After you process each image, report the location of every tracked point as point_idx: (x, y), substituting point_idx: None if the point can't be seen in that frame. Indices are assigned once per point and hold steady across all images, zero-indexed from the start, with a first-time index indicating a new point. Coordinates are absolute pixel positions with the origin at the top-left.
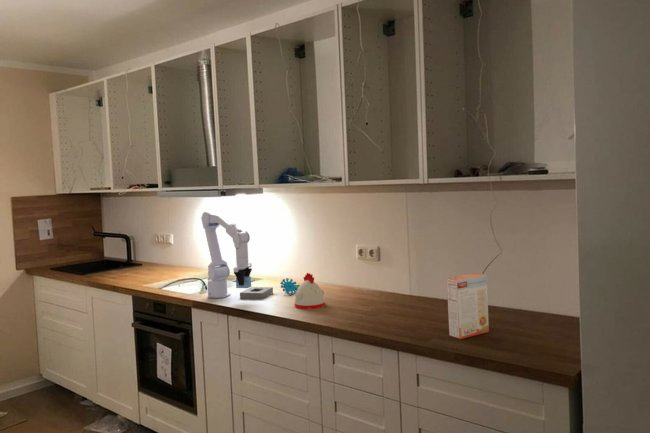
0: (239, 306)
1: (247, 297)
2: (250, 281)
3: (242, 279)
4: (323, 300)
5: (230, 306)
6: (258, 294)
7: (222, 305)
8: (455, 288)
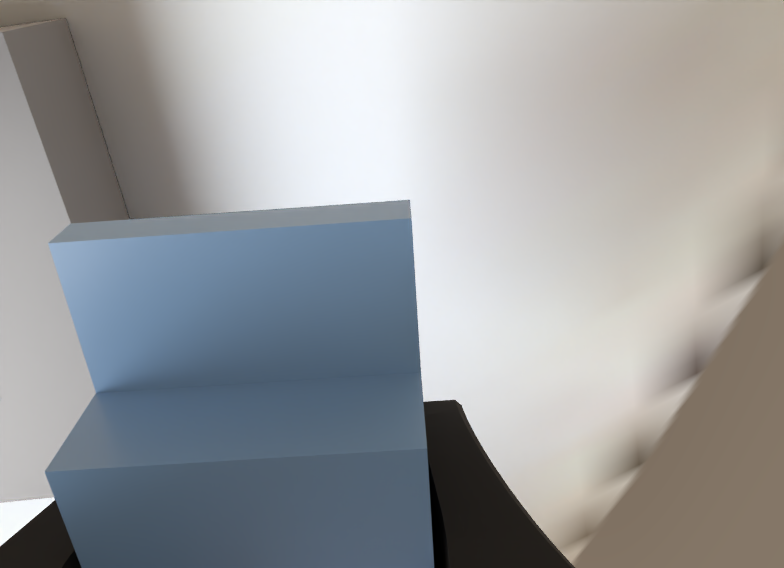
0: (703, 136)
1: None
2: (409, 221)
3: (529, 526)
4: None
5: (707, 284)
6: (50, 118)
7: (648, 425)
8: None
